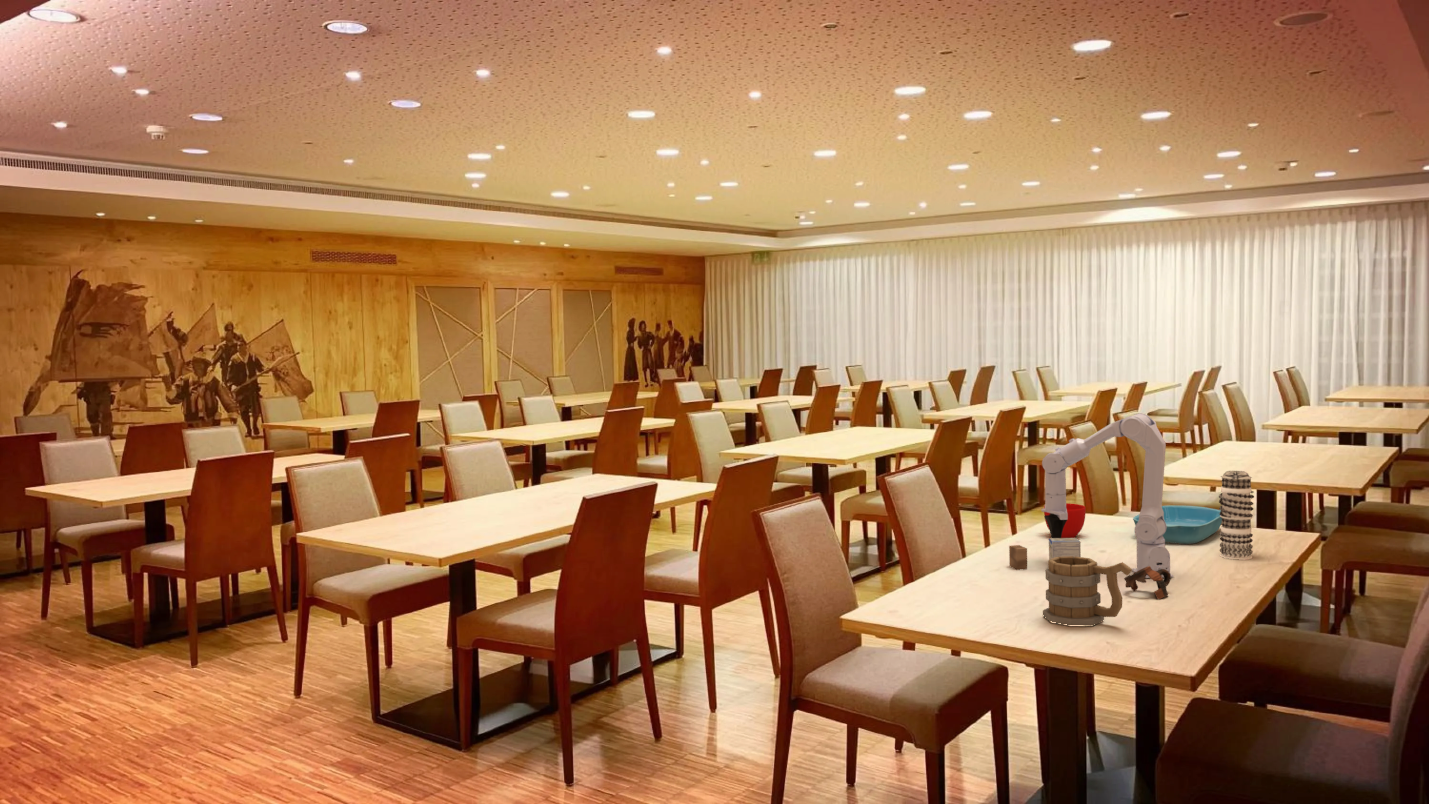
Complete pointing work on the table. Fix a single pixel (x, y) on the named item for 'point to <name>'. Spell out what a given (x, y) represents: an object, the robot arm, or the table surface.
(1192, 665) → the table surface
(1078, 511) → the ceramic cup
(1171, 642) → the table surface
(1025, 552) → the walnut block
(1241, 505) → the decorative candle
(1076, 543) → the medicine box
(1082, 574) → the tankard
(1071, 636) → the table surface
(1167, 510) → the casserole dish
